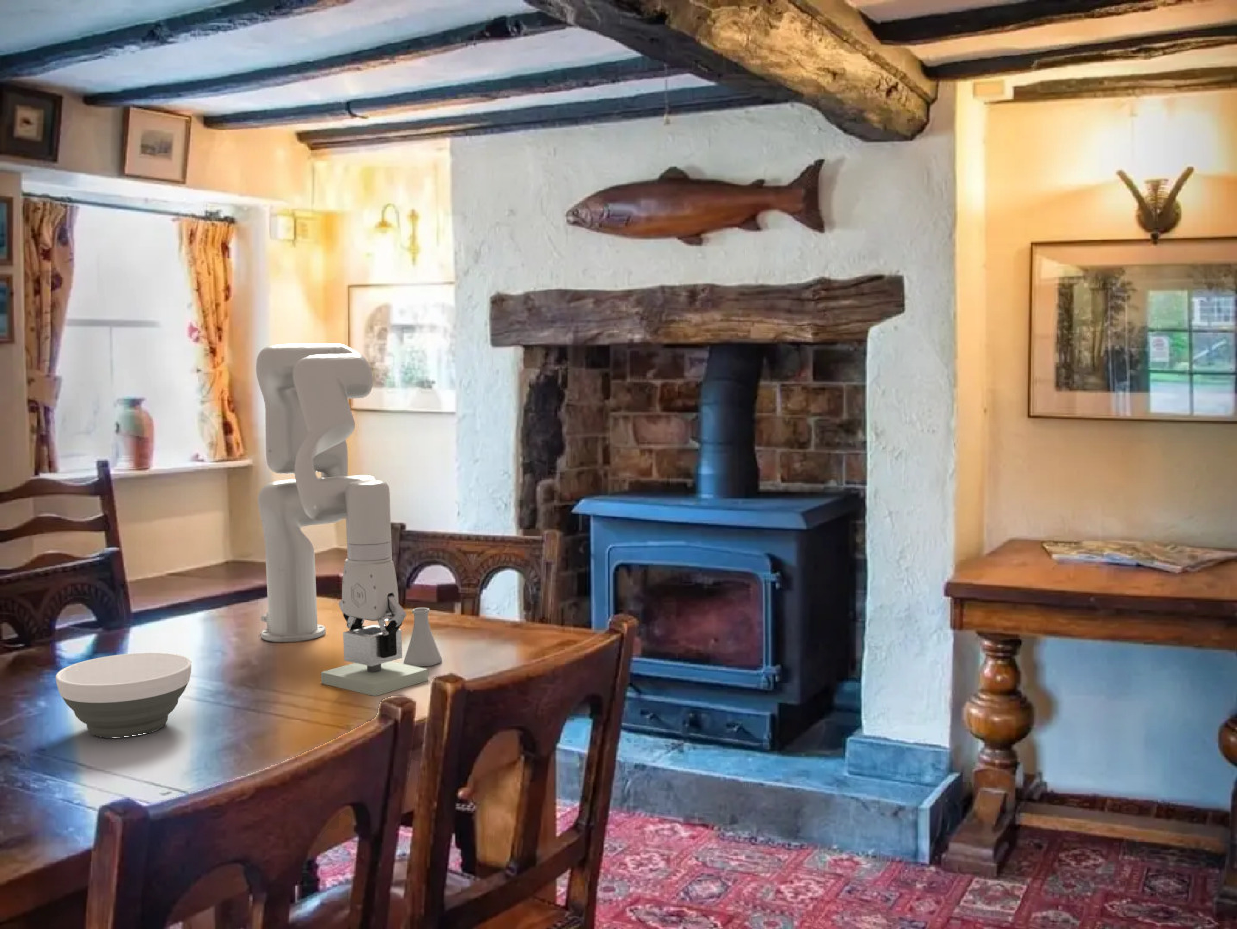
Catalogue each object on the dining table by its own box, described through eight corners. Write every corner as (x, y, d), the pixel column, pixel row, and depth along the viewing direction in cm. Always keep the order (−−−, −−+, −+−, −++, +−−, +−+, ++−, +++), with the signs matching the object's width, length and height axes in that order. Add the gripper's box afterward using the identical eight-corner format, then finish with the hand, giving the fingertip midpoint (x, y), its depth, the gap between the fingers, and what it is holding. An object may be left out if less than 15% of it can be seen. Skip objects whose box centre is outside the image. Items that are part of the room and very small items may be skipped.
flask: (434, 668, 231) (433, 614, 230) (396, 667, 232) (394, 613, 231) (448, 658, 238) (446, 605, 237) (411, 657, 239) (409, 604, 238)
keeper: (321, 683, 222) (319, 638, 221) (374, 668, 231) (373, 625, 230) (374, 696, 213) (373, 649, 212) (428, 680, 223) (426, 635, 222)
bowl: (59, 756, 185) (55, 691, 184) (59, 720, 203) (55, 661, 202) (200, 736, 193) (197, 675, 192) (188, 704, 211) (185, 647, 210)
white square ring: (344, 660, 221) (343, 632, 221) (375, 652, 227) (374, 624, 226) (371, 666, 217) (369, 637, 217) (402, 657, 222) (401, 629, 222)
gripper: (319, 550, 223) (324, 650, 224) (386, 560, 212) (390, 665, 214) (353, 544, 228) (357, 642, 230) (420, 553, 218) (423, 655, 219)
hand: (373, 652), depth 222 cm, fingers open, 7 cm apart
